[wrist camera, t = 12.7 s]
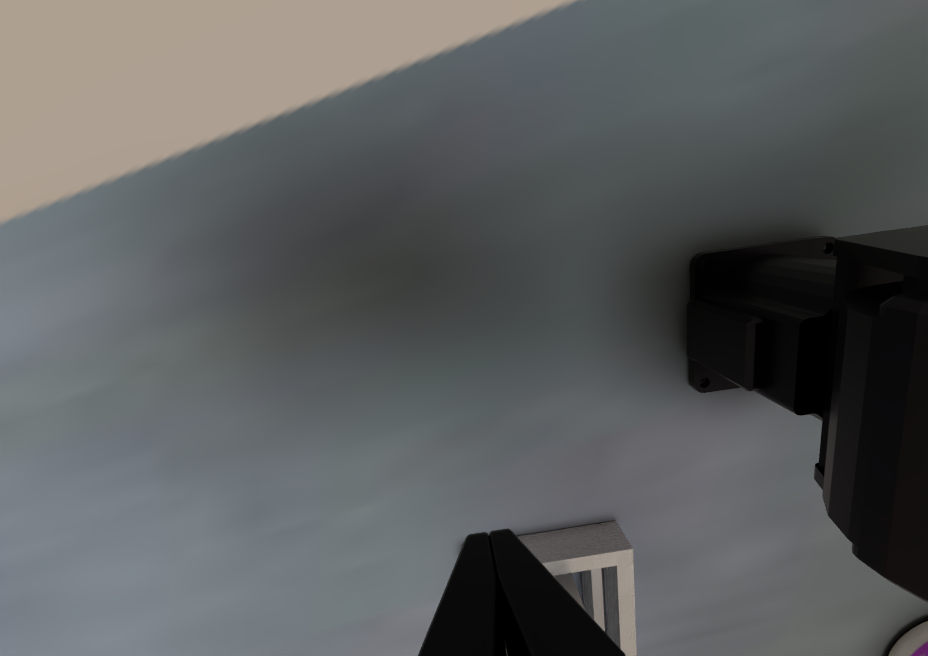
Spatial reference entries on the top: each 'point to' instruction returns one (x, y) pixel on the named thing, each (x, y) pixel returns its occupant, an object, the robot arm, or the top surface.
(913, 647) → the supplement bottle
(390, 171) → the top surface
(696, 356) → the robot arm
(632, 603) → the rack
